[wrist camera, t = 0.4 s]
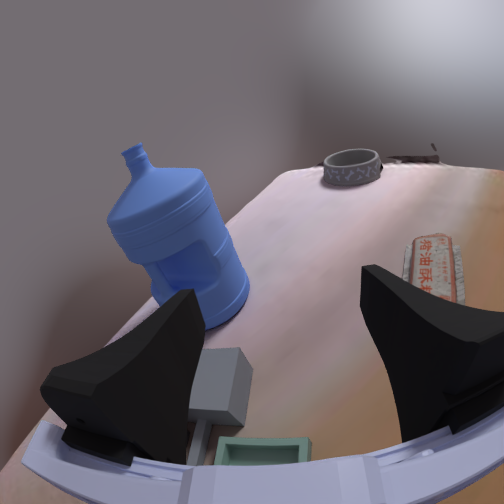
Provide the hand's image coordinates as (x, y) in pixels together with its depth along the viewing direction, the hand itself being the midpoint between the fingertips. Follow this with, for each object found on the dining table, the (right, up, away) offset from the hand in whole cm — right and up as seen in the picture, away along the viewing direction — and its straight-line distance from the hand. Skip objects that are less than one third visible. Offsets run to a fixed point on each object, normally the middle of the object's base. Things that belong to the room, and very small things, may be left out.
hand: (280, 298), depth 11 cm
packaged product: (+25, -4, +21) cm, 33 cm away
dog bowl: (+28, +24, +61) cm, 71 cm away
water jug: (-9, -6, +35) cm, 37 cm away
